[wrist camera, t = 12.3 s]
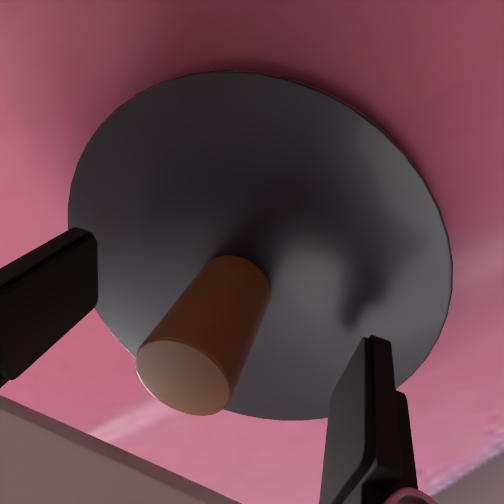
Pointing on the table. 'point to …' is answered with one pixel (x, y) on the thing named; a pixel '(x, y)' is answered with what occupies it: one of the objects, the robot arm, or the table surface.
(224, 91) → the lid
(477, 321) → the table surface
